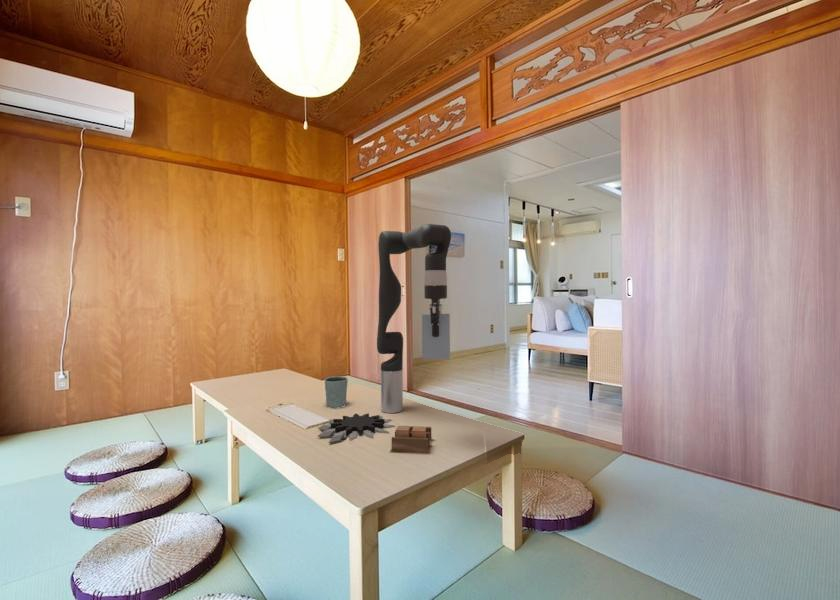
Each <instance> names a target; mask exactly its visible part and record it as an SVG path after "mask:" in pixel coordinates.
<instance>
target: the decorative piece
mask: <svg viewBox="0 0 840 600" xmlns="http://www.w3.org/2000/svg"><path fill="white" fill-rule="evenodd" d="M328 420H329V421H328V423H327V424H324V425H320V426H318V427H317V429H318V430H319V431H321V432H320V434H318V435H317V438H320V439H329V438H330V439H329V441H328V443H329V444H336V443H340V441H341V442H343V440H347V439H348V440H349V441H350V442H351V441H352V442H353V441H354V440H357V439H358V436H365V437H366V438H368V439H373V440H374V433H379V434H391V433H390V432H389V431H388V430H385V429H391V428H396V426H395V425H394V424H388V423H390V422H392V421H393V422H394V420H392V419H389V418H388V419H387V418H384V417H383V416H382V415H379V414H378V415H377V414H376V415H372V416H370V413H369V412H367V413H365V414H364V413H363V414H361V415H360V414H358V413H354V414H353V416H349V415H342V418H333V419H332V418H331V419H328Z"/></svg>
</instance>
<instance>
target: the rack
mask: <svg viewBox="0 0 840 600" xmlns="http://www.w3.org/2000/svg"><path fill="white" fill-rule="evenodd" d="M397 427H410V437H396V430H395V431H394V436H392V437H391V449H390V451H389V453H393V454H394V453H395V454H409V455H410V454H411V455H412V454H416V455H430V453H431V452H430V451H431V448H432V445H433V440H434V439H433V438H432V426H424V427H425V428H426V438H412V429H413V427H419V426H415V425H412V426H411V425H398V426H397Z"/></svg>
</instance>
